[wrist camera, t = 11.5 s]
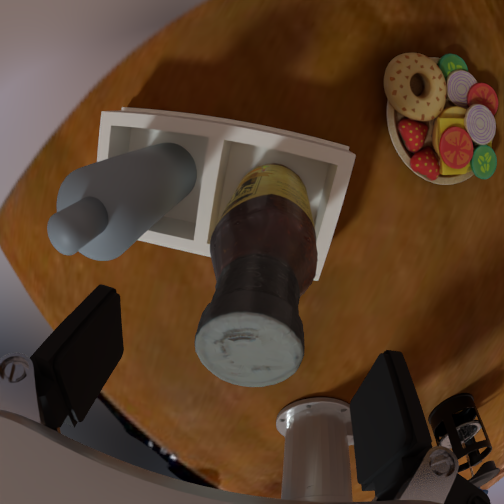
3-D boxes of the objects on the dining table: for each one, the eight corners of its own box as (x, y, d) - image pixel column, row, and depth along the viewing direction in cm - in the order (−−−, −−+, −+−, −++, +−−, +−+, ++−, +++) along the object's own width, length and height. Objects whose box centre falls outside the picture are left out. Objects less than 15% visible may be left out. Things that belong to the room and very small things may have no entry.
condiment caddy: (347, 145, 26) (421, 186, 11) (315, 259, 32) (332, 388, 16) (126, 107, 27) (-4, 119, 11) (117, 215, 32) (13, 295, 17)
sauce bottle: (250, 152, 27) (180, 234, 9) (316, 174, 27) (375, 297, 9) (230, 217, 30) (154, 374, 12) (291, 237, 30) (296, 414, 12)
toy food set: (371, 53, 22) (380, 46, 20) (480, 60, 20) (496, 58, 17) (389, 186, 28) (400, 195, 25) (491, 179, 25) (507, 186, 22)
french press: (418, 415, 42) (443, 528, 21) (461, 385, 38) (502, 498, 17) (443, 430, 44) (467, 525, 23) (481, 403, 40) (515, 498, 19)
